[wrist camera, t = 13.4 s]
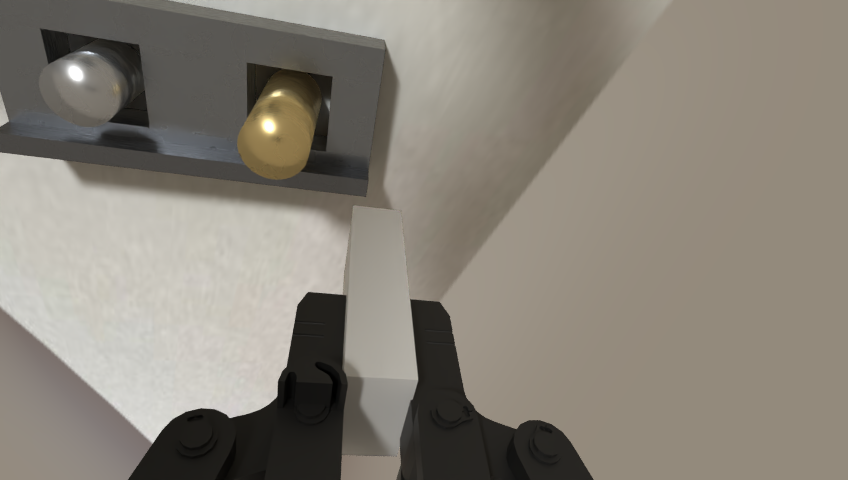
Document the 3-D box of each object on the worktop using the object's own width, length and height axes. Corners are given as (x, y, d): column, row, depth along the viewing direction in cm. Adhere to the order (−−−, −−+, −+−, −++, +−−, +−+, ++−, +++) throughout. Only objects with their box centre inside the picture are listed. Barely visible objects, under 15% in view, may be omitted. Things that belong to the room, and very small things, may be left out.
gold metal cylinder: (265, 64, 37) (236, 110, 29) (323, 73, 38) (311, 120, 30) (265, 118, 40) (238, 175, 32) (319, 126, 41) (307, 183, 32)
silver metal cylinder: (78, 32, 35) (31, 54, 30) (144, 43, 36) (109, 66, 31) (90, 92, 37) (48, 121, 32) (151, 101, 38) (119, 131, 33)
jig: (-4, -31, 32) (-58, -21, 28) (384, 40, 37) (386, 57, 33) (37, 125, 38) (-2, 152, 34) (366, 168, 43) (365, 196, 39)
